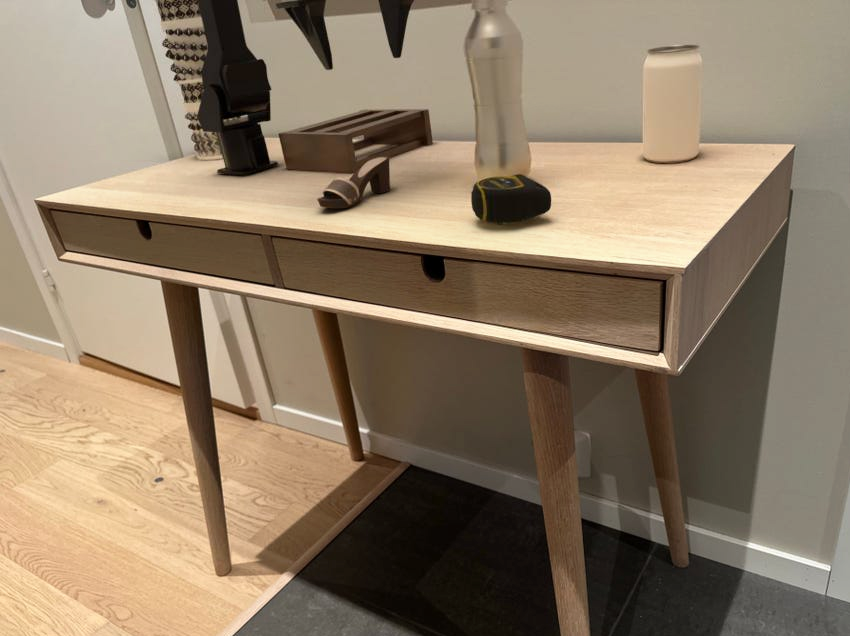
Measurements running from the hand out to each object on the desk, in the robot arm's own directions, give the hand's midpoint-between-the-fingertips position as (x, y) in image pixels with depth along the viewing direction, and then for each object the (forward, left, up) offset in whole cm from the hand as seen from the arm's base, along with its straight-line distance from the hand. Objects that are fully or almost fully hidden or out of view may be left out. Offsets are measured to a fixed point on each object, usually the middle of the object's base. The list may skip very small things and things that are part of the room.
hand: (364, 63), depth 80 cm
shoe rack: (-16, +13, -14) cm, 25 cm away
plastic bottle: (+15, +4, -14) cm, 21 cm away
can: (+29, +19, -14) cm, 37 cm away
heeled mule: (+1, -6, -14) cm, 15 cm away
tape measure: (+23, -7, -14) cm, 28 cm away
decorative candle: (-45, +11, -14) cm, 48 cm away
